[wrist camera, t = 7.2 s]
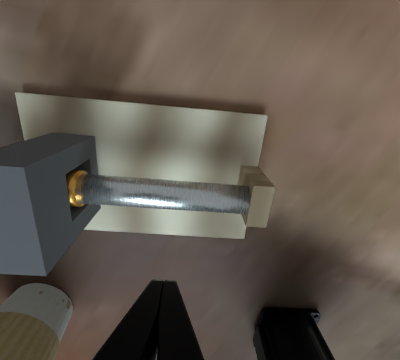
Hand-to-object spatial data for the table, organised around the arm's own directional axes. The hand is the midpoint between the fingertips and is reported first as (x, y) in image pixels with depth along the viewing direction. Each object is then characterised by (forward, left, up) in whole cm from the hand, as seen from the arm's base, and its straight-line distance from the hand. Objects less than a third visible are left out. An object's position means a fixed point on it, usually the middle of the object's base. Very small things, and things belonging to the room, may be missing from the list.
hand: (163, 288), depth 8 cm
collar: (+8, 0, -11) cm, 13 cm away
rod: (+3, 0, -9) cm, 10 cm away
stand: (+3, 0, -12) cm, 12 cm away
